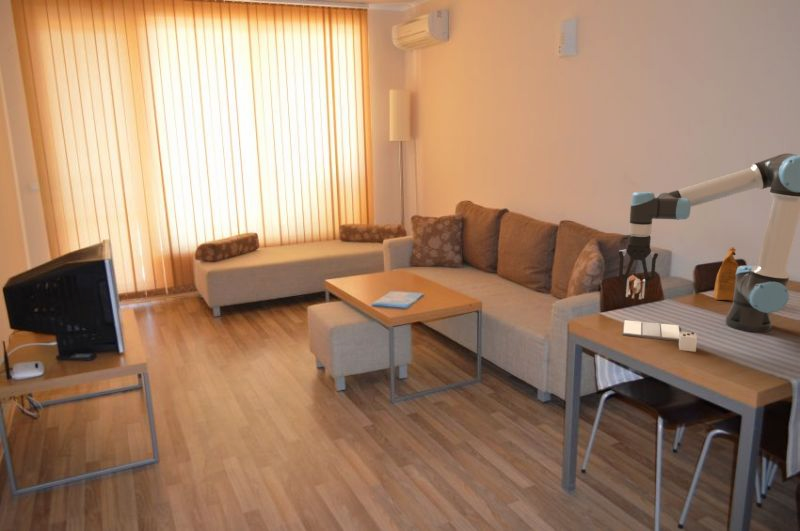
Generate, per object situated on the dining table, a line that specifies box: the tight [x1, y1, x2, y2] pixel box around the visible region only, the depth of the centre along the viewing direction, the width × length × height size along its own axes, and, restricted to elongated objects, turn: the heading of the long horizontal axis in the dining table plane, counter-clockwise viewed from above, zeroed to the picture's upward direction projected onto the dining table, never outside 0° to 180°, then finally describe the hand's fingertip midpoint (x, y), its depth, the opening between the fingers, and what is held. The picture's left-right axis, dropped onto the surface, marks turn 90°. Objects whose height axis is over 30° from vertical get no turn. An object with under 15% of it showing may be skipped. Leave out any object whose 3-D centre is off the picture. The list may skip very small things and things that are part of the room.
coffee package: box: [713, 246, 740, 302], centre depth 263 cm, size 10×12×22 cm
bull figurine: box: [628, 274, 644, 301], centre depth 224 cm, size 4×13×8 cm, turn 168°
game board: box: [622, 319, 681, 342], centre depth 225 cm, size 20×16×1 cm
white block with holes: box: [678, 331, 698, 353], centre depth 207 cm, size 5×5×6 cm
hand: (634, 296), depth 224 cm, fingers closed on bull figurine, 5 cm apart
